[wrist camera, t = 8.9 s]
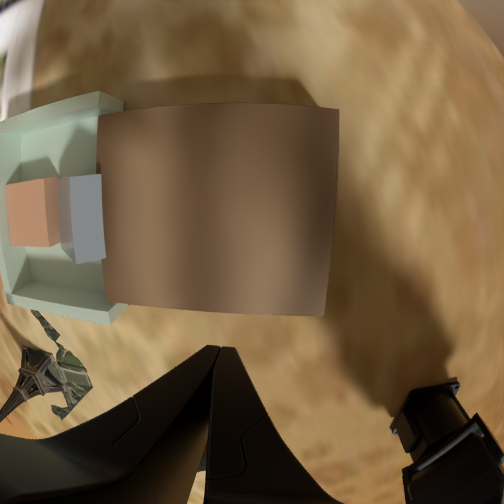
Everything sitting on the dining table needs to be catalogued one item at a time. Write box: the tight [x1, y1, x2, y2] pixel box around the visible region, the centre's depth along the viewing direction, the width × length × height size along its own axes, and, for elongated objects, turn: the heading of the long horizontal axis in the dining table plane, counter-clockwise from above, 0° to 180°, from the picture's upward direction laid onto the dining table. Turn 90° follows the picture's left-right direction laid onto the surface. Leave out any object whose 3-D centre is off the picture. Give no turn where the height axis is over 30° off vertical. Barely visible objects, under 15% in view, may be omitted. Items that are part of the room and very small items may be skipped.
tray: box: [0, 91, 130, 325], centre depth 17 cm, size 12×15×4 cm
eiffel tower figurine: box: [0, 310, 93, 422], centre depth 18 cm, size 15×10×13 cm
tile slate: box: [56, 174, 106, 265], centre depth 16 cm, size 5×5×2 cm
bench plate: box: [96, 103, 339, 316], centre depth 17 cm, size 14×12×3 cm
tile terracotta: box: [6, 177, 61, 247], centre depth 18 cm, size 5×5×2 cm
